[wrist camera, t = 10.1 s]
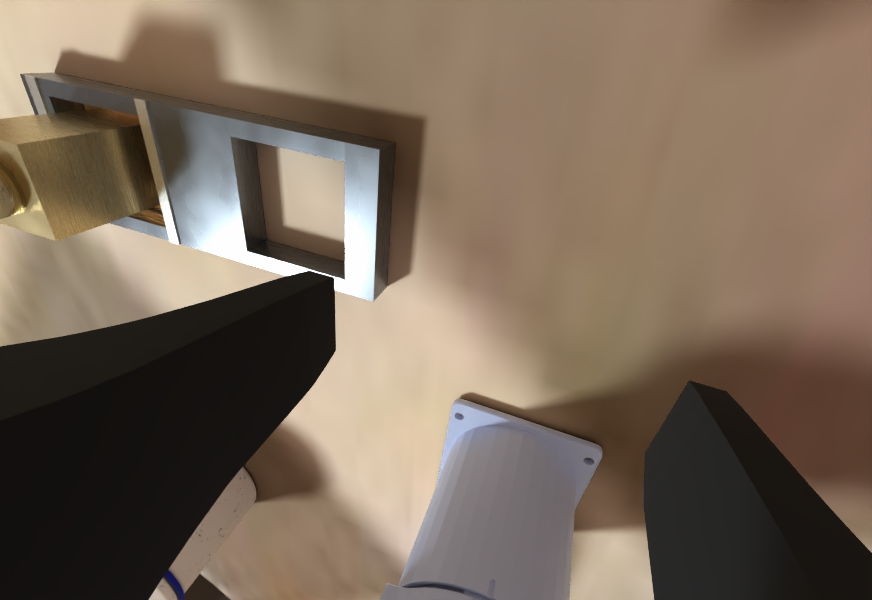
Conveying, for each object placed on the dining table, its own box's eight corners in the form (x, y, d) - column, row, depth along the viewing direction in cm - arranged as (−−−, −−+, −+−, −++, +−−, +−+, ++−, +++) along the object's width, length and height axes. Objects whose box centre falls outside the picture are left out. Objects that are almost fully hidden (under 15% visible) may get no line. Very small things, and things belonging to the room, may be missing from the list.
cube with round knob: (173, 200, 23) (35, 248, 17) (116, 185, 24) (-32, 225, 18) (155, 122, 21) (-9, 148, 15) (93, 108, 22) (-84, 128, 16)
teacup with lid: (232, 437, 34) (85, 589, 24) (276, 512, 37) (166, 668, 28) (137, 427, 38) (-17, 551, 29) (185, 494, 42) (64, 623, 33)
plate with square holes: (386, 287, 21) (372, 302, 20) (97, 204, 25) (69, 212, 24) (395, 142, 17) (378, 150, 16) (53, 72, 21) (17, 74, 20)
